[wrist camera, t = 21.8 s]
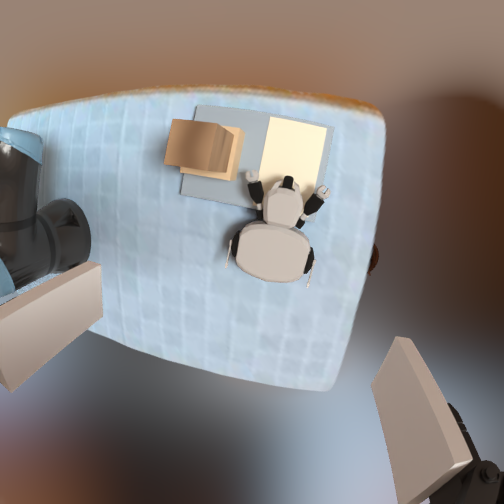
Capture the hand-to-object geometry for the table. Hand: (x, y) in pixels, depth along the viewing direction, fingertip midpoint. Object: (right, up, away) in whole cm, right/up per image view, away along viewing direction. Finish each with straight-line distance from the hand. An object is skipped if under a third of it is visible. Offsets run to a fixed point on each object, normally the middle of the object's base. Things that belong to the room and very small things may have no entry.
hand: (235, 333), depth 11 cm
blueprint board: (+1, +16, +28) cm, 32 cm away
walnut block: (-4, +16, +23) cm, 29 cm away
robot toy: (+6, +13, +24) cm, 28 cm away
